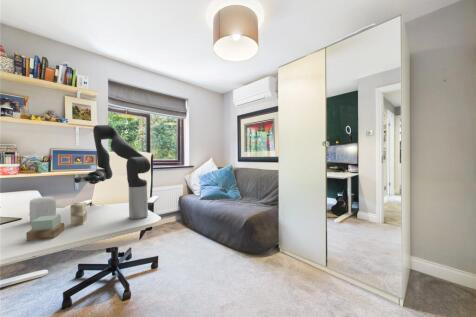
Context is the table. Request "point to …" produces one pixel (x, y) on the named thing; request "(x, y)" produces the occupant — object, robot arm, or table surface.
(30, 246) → the table surface
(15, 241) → the table surface
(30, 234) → the bottom block
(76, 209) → the ash block
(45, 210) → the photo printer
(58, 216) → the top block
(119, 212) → the table surface
